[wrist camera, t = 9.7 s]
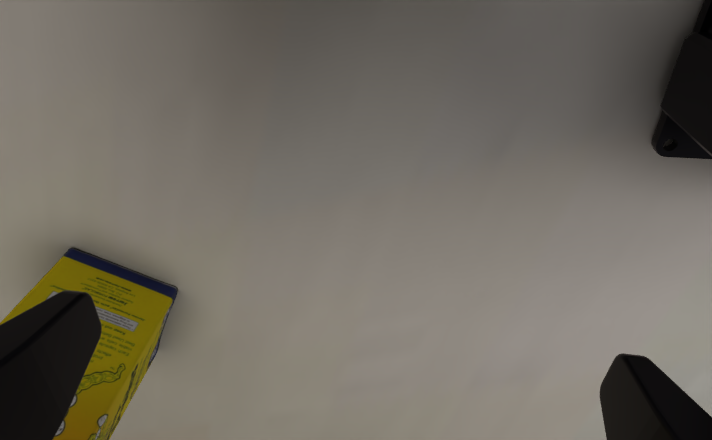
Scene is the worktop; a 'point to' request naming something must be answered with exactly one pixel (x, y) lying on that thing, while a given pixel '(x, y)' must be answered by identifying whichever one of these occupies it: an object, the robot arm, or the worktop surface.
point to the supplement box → (107, 337)
